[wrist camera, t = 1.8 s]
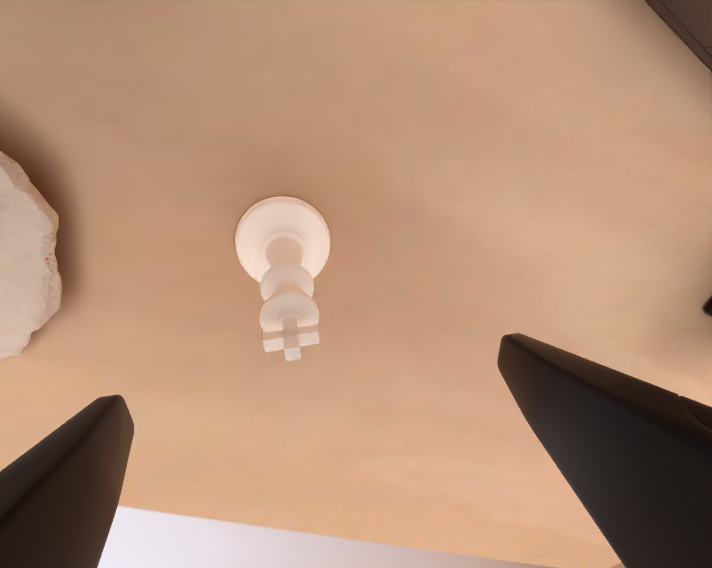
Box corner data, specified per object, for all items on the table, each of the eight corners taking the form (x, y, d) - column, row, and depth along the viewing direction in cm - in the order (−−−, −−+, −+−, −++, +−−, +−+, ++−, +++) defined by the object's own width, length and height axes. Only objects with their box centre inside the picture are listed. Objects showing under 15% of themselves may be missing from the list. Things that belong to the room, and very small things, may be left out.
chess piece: (225, 201, 18) (180, 291, 9) (325, 191, 19) (371, 264, 10) (245, 290, 20) (223, 432, 11) (333, 278, 21) (377, 401, 12)
